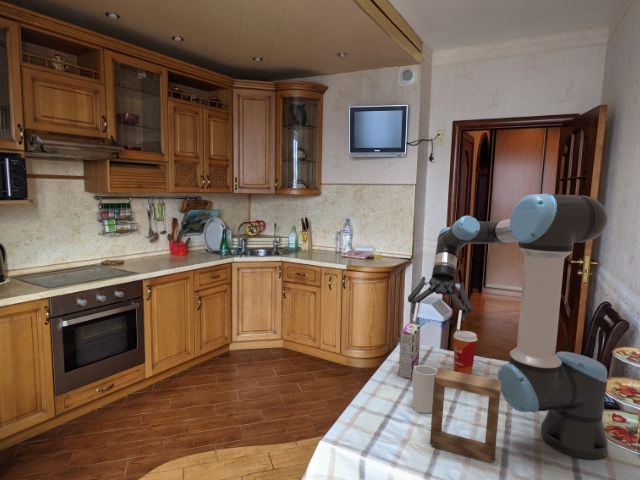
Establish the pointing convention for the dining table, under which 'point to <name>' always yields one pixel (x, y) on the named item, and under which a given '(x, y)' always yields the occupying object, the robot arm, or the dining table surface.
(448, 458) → the dining table surface
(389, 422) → the dining table surface
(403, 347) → the candy bar box
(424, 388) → the mug
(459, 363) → the coffee cup
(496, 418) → the brown wooden frame
